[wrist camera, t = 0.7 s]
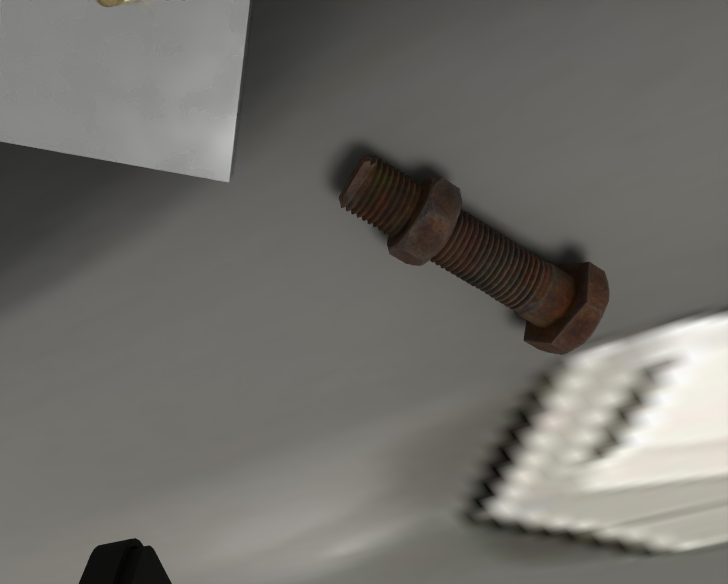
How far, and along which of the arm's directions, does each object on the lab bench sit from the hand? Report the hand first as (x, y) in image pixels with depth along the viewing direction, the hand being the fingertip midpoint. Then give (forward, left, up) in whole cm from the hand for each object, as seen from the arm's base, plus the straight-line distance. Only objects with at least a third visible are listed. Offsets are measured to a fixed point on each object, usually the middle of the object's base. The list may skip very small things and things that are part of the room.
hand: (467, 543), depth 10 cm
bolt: (+5, +6, -28) cm, 29 cm away
